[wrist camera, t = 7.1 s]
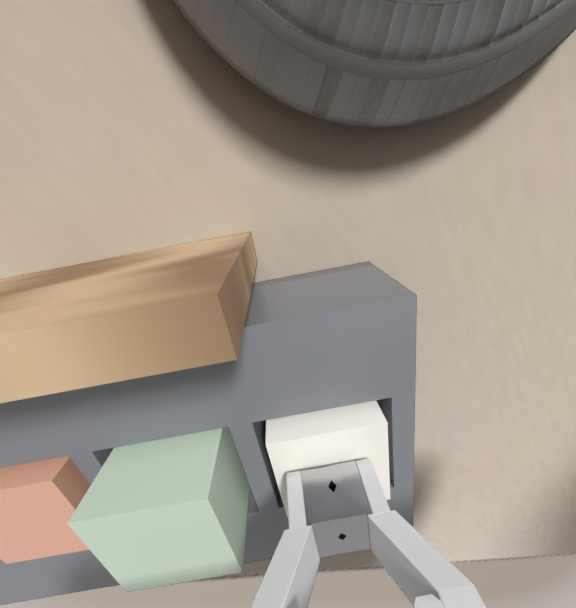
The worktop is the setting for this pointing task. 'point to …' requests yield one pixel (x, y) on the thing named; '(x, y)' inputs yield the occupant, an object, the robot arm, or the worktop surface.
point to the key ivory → (329, 442)
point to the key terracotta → (39, 509)
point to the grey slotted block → (236, 405)
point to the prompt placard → (124, 317)
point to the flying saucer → (381, 51)
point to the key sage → (167, 511)
